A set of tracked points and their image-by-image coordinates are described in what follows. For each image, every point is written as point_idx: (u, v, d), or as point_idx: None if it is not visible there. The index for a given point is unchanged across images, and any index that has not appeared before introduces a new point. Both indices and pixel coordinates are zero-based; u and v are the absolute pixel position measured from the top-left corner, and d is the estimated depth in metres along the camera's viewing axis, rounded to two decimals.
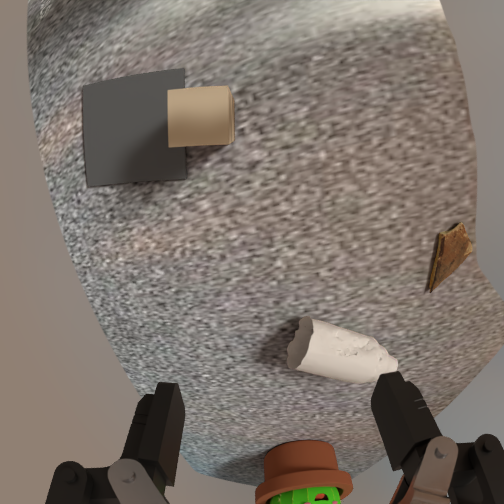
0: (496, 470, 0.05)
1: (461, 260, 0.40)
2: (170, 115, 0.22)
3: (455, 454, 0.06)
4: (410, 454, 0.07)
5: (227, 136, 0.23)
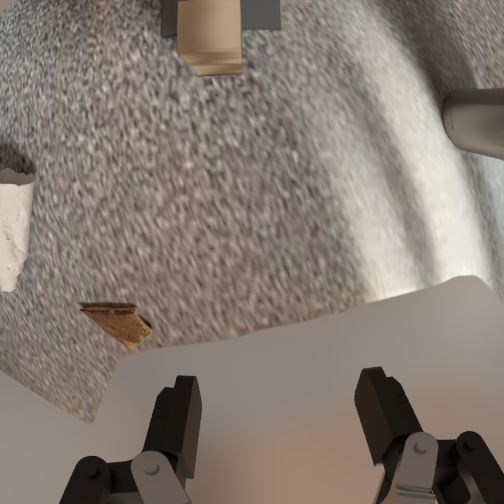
0: (481, 467, 0.05)
1: (117, 338, 0.43)
2: (211, 0, 0.17)
3: (435, 450, 0.06)
4: (390, 449, 0.08)
5: (185, 50, 0.19)
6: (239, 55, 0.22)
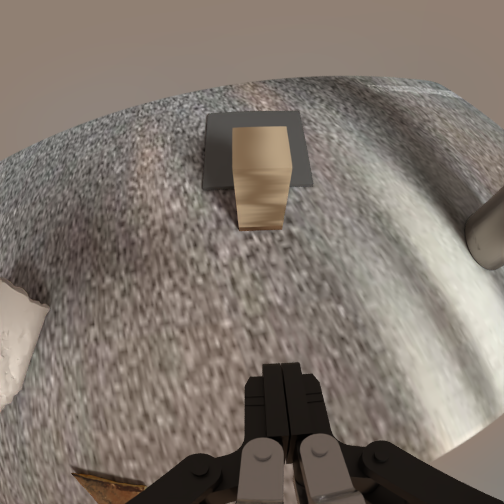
0: (405, 473, 0.06)
1: None
2: (262, 128, 0.26)
3: (336, 456, 0.07)
4: (294, 447, 0.08)
5: (240, 168, 0.24)
6: (287, 186, 0.27)
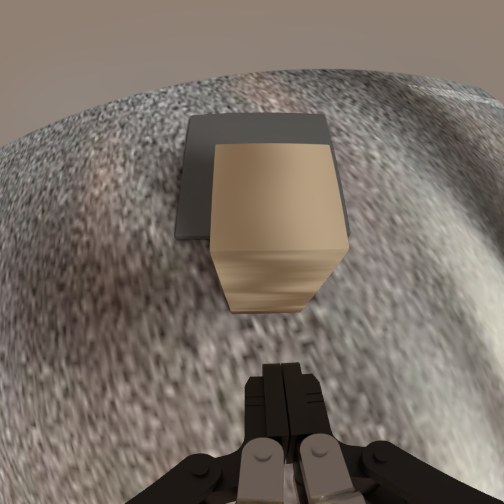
0: (405, 473, 0.06)
1: None
2: (279, 147, 0.12)
3: (336, 456, 0.07)
4: (294, 447, 0.08)
5: (229, 249, 0.11)
6: (328, 273, 0.13)
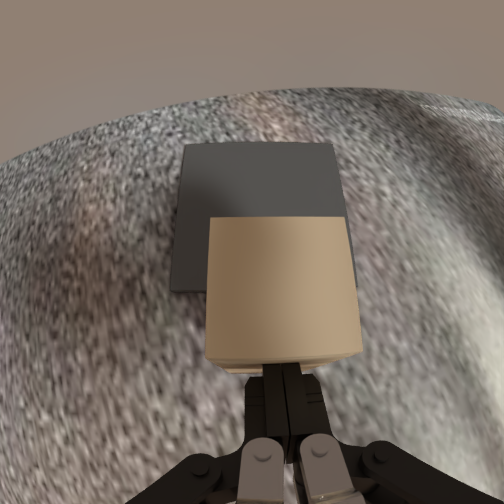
0: (405, 473, 0.06)
1: None
2: (285, 222, 0.11)
3: (336, 456, 0.07)
4: (294, 447, 0.08)
5: (227, 356, 0.09)
6: (336, 360, 0.11)
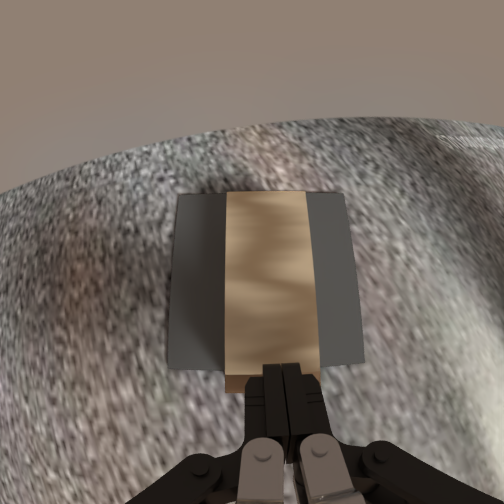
0: (406, 473, 0.06)
1: None
2: None
3: (336, 456, 0.07)
4: (294, 447, 0.08)
5: (237, 192, 0.19)
6: (307, 230, 0.18)
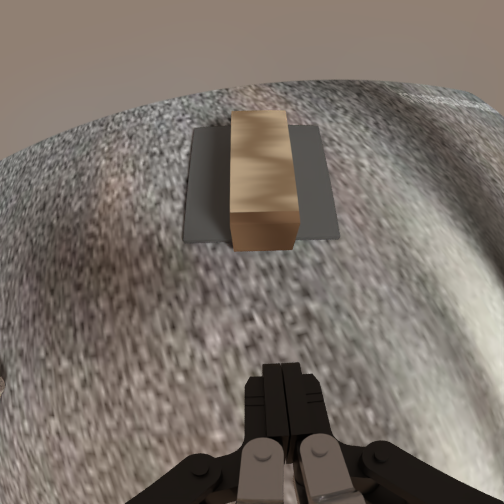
0: (405, 473, 0.06)
1: None
2: None
3: (336, 456, 0.07)
4: (294, 447, 0.08)
5: (238, 111, 0.26)
6: (286, 130, 0.25)
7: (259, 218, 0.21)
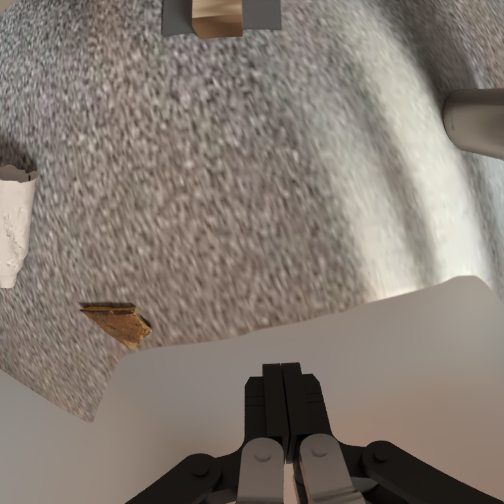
0: (405, 473, 0.06)
1: (117, 338, 0.43)
2: None
3: (336, 456, 0.07)
4: (294, 447, 0.08)
5: None
6: None
7: (212, 20, 0.23)
